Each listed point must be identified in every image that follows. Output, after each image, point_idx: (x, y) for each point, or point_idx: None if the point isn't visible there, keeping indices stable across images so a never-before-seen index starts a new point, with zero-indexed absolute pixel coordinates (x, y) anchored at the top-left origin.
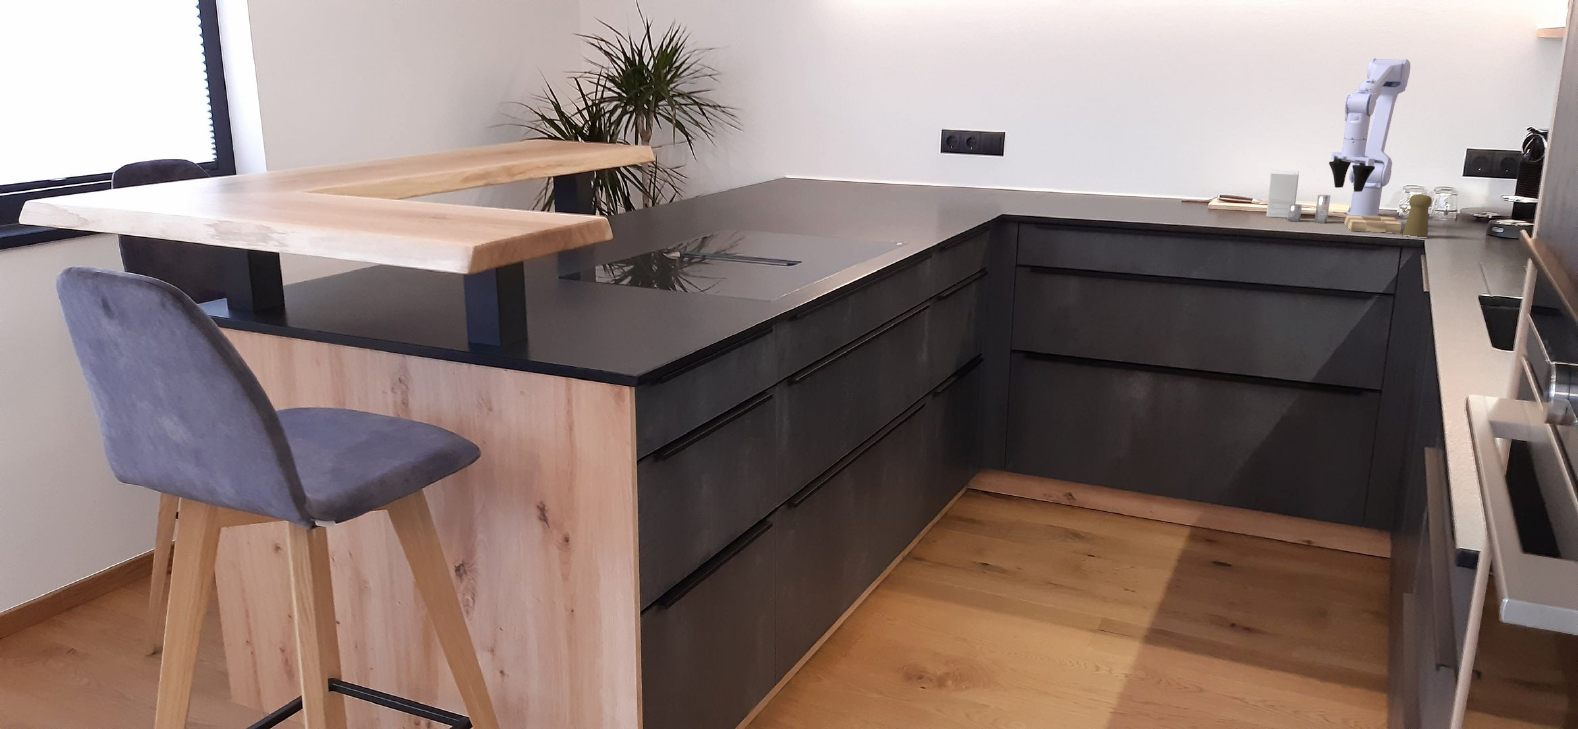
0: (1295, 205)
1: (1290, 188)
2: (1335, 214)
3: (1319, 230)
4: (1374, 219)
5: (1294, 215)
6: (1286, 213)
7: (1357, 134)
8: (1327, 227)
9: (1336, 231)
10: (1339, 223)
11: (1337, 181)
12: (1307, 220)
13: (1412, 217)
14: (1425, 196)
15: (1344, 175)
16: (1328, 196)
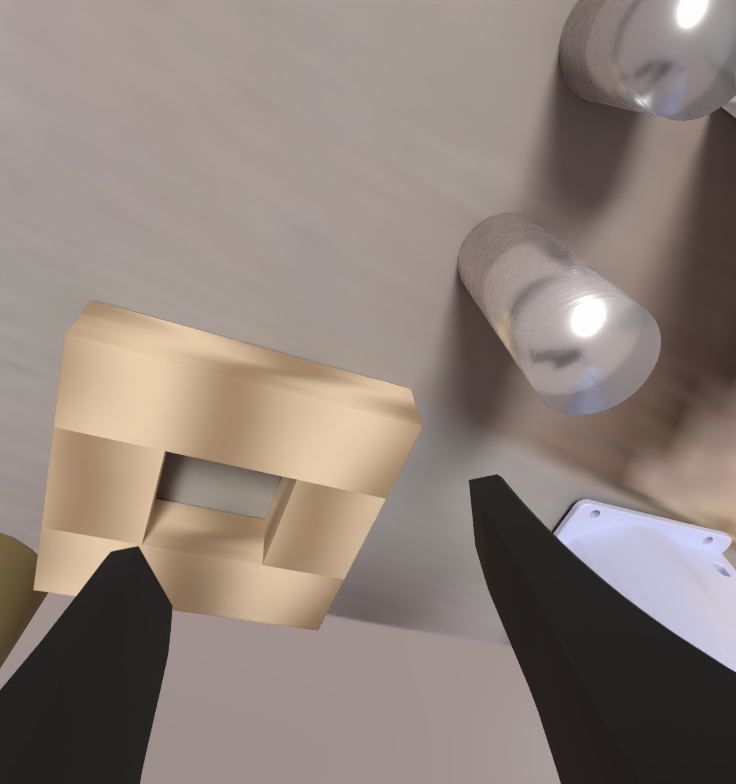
0: (682, 24)
1: None
2: (727, 474)
3: (95, 33)
4: (273, 530)
5: (598, 10)
6: None
7: None
8: (270, 199)
9: (70, 182)
10: (437, 368)
11: (495, 544)
12: (600, 192)
13: None
14: None
15: (531, 686)
16: (531, 378)
